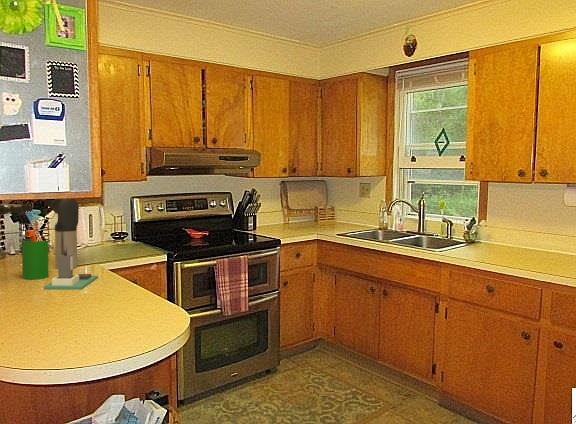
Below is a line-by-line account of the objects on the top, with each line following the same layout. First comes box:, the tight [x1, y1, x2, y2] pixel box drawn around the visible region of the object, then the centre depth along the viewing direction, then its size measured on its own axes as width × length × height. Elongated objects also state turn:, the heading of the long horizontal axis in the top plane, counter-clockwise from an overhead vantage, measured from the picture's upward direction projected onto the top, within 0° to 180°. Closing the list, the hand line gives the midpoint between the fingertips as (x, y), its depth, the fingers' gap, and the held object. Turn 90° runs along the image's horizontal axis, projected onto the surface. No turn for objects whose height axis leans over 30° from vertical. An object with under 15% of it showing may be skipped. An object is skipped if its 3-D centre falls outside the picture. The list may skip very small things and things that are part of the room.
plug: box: [57, 248, 74, 279], centre depth 188 cm, size 4×5×14 cm
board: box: [43, 273, 99, 290], centre depth 193 cm, size 20×14×4 cm
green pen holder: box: [21, 229, 49, 280], centre depth 202 cm, size 10×9×20 cm
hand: (27, 209), depth 186 cm, fingers open, 8 cm apart
